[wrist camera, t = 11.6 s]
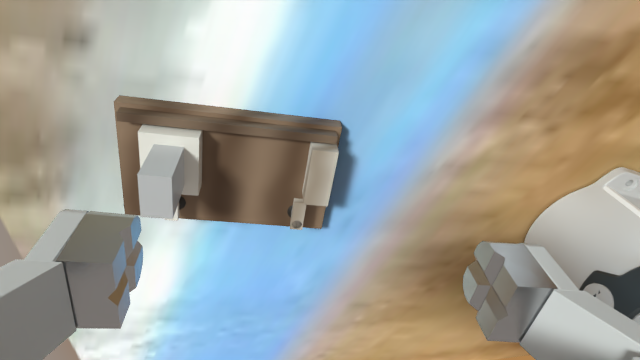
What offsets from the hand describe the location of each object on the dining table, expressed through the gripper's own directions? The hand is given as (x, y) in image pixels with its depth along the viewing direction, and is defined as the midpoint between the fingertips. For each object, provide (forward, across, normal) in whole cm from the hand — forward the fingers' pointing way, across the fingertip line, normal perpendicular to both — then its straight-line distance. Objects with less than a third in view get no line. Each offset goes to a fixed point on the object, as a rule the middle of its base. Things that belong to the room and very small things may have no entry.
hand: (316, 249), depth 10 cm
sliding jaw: (+27, +9, +15) cm, 33 cm away
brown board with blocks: (+29, +4, +15) cm, 33 cm away
